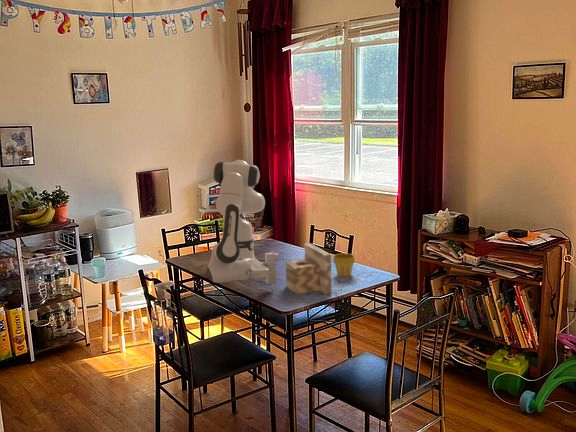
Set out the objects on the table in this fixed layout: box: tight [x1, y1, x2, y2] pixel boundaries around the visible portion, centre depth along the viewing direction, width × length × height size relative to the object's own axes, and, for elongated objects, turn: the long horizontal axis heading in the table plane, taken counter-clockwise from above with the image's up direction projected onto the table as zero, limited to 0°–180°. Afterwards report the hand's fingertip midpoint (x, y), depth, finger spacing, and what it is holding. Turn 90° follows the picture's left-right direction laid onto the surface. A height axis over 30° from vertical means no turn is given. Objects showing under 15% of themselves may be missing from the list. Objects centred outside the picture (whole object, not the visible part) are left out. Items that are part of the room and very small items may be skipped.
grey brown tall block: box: [264, 251, 280, 285], centre depth 265 cm, size 6×3×14 cm, turn 110°
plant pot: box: [333, 252, 355, 278], centre depth 285 cm, size 10×10×10 cm
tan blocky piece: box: [285, 242, 333, 295], centre depth 266 cm, size 15×24×18 cm, turn 20°
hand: (272, 265), depth 265 cm, fingers closed on grey brown tall block, 3 cm apart
